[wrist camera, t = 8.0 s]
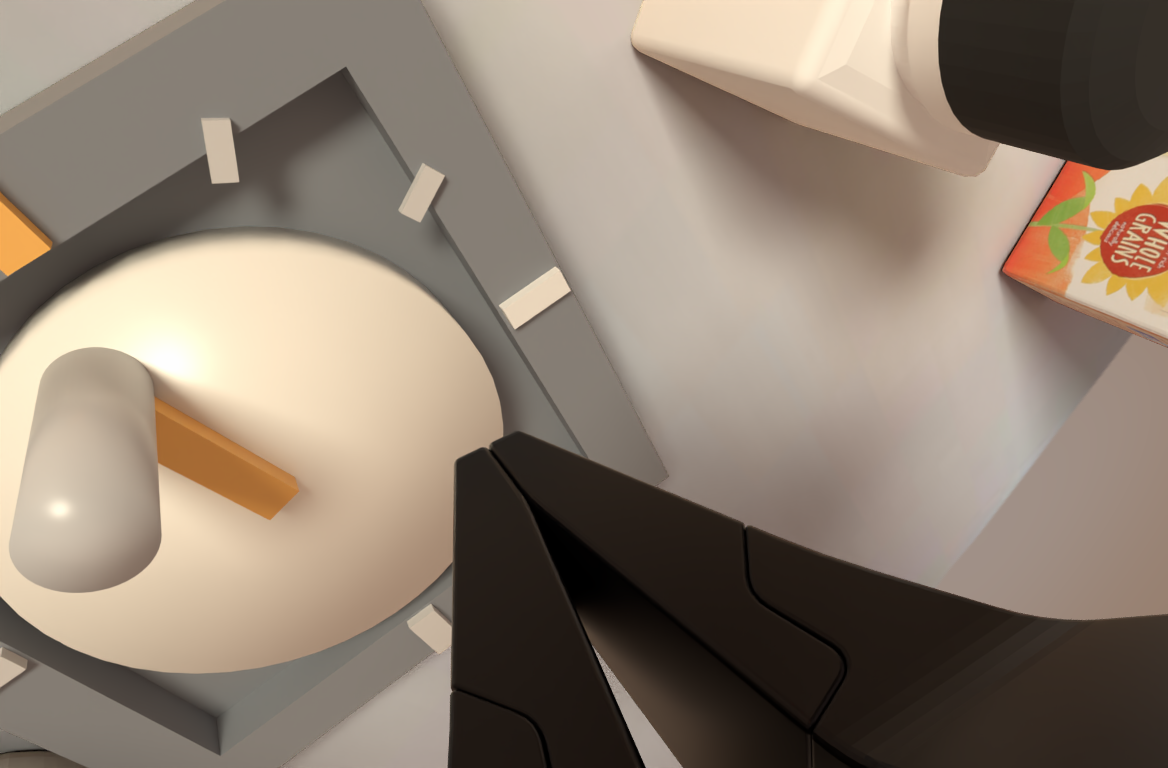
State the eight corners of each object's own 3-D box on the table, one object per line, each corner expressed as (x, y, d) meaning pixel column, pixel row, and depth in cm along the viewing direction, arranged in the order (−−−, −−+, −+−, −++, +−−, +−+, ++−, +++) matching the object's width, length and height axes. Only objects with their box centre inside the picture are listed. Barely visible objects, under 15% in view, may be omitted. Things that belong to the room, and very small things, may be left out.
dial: (555, 405, 24) (673, 540, 19) (285, 674, 24) (328, 882, 19) (232, 111, 16) (282, 205, 11) (-166, 512, 16) (-303, 793, 11)
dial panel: (202, 750, 26) (209, 832, 23) (-478, 398, 14) (-593, 491, 12) (630, 436, 28) (675, 482, 26) (344, -88, 16) (379, -89, 14)
